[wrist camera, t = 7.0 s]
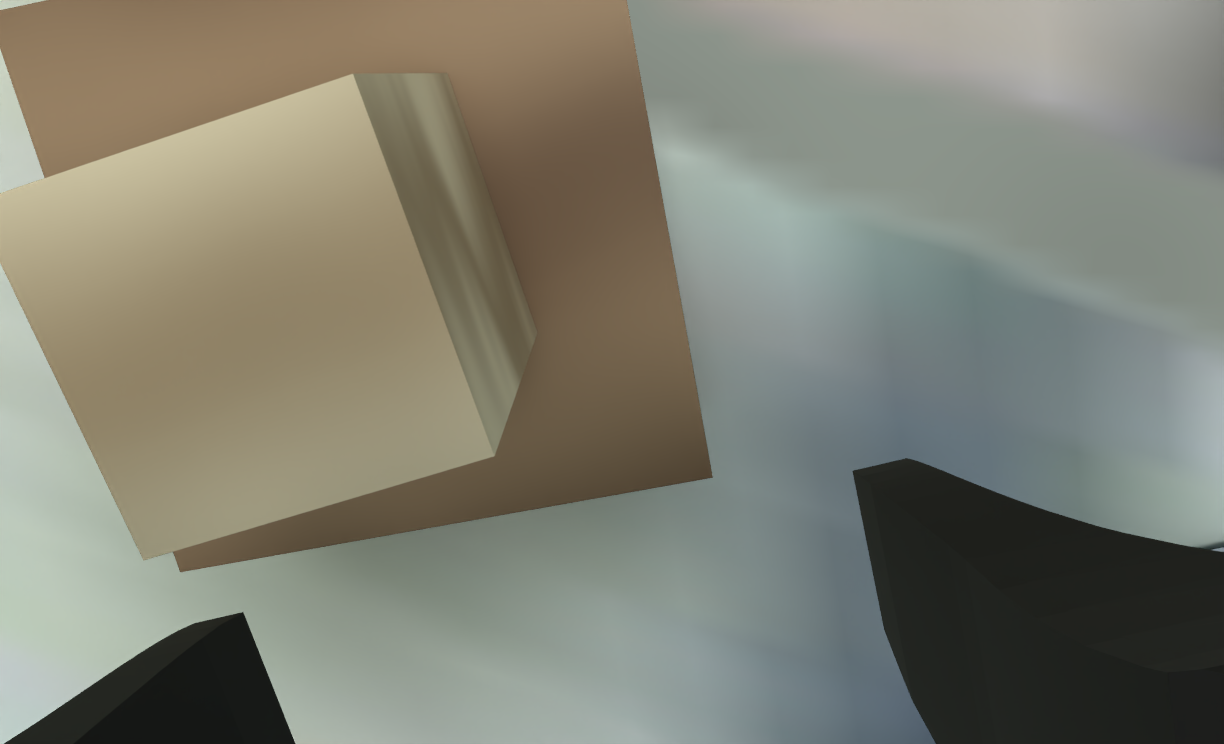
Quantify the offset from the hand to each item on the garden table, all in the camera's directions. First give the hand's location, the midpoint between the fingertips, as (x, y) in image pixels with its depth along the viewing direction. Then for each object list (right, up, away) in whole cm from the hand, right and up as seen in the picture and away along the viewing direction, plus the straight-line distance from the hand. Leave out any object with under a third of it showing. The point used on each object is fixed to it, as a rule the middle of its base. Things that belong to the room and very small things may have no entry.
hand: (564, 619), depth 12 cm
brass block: (-4, +5, +6) cm, 8 cm away
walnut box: (-3, +6, +10) cm, 12 cm away
